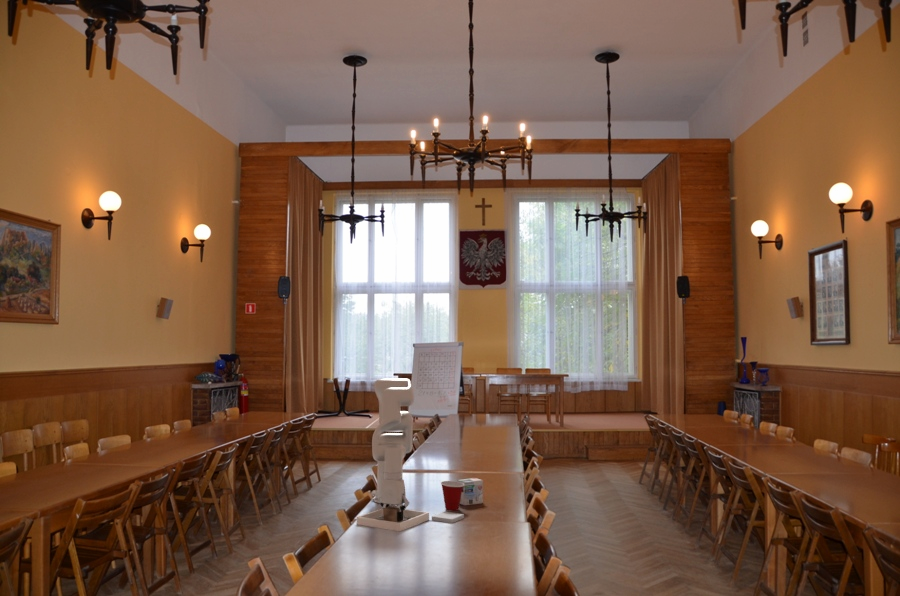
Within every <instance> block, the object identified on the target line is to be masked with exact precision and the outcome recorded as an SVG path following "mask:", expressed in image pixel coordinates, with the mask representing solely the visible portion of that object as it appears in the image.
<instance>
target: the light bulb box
mask: <svg viewBox="0 0 900 596" xmlns="http://www.w3.org/2000/svg"><path fill="white" fill-rule="evenodd" d="M456 482H461V483H464V487H463V489H462V493H461V499H460V504H459V505H463V506H471V505H478V504H479V505H480V504H483V502H484V501H483V497H484V496H483V493H484V491H483V489H484V484H483V483H484V480H483V479H479V478H476V477H471V478H465V479H457V480H456Z"/></svg>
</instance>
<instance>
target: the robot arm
mask: <svg viewBox="0 0 900 596" xmlns="http://www.w3.org/2000/svg"><path fill="white" fill-rule="evenodd" d="M373 389H374V392H375V395H376V398H377V399H378V408H379V409H378V425H377V427H376V428H375V430H374V432H373V434H372V438H371V439H372V440H371V446H372V447H371V449H372V450H371V451H372V452H371V453H372V458H373V460H374V461H376V463H377V465H376V466H377V476H376V477H377V481H376V482H377V483H376V485H377V487H376V489H377V490H372V491H371V493H370V494H371V496H375V497H374V498H373V502H375V503H377V504H380V506H381V507H382V508H385V507H388V506H391V505H393V506H397V508H398V512H397V521H398V522H399V521H402V520H403V521H404V517H403V511H404V509H407V507H408V506H409V505H410V502H409V500H408V499H407V497H406V487H405V486H406V484H405V479H403V478H404V476H403V461H404V458H405V457H406V454H409V453H411V452H412V451H413V441H414V440H413V434H414V433H413V428H414V427H413V426H414V424H413V423H414V422H413V416H412V413H411V412H410V411H407V410H401V409H402V408H401V407H411V406H412V405H413V404H414V399H415V395H414V394H415V392H414V388H413V384H412V381H411V380H410V378H378V379H376V380H375V381H374V385H373ZM384 432H386V433H384ZM387 432H388V433H387ZM391 432H392V433H391ZM393 432H394V433H393ZM395 432H396V433H395ZM397 432H398V433H397ZM399 432H402V433H399Z"/></svg>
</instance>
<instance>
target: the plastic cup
mask: <svg viewBox="0 0 900 596" xmlns="http://www.w3.org/2000/svg"><path fill="white" fill-rule="evenodd" d="M440 485H441V488H442V496H443V501H444V506H445V510H446V511H447V510H448V511H447V512H456V511H459V509H460V505H461V504H460V499H461V493H462V489H463V487H464V483H461V482H457V480H456V481H455V480H444V481H443V480H442V481H440Z"/></svg>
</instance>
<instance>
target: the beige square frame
mask: <svg viewBox="0 0 900 596" xmlns="http://www.w3.org/2000/svg"><path fill="white" fill-rule="evenodd" d="M381 517H382V518H383V507H382V508H380V509H377V510H374V511H373V510H372V511H371V512H370V511H369V512H368V513H365V514H361V515H359V516H356V525H358V526H366V527H371V528H377V529H384V530H390V531H396V532H401V531H404V530H407V529H409V528H412V527H414V526H416V525H417V526H418V525H420V524H422V523H424V522H427V521H429V520H430V512H427V511H420V510H413V509H407V508H405V509H404V511H403V518H409V519H406V520H403V522H400V523H397V522H391V521H384V520H382V519H378V518H381Z"/></svg>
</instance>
